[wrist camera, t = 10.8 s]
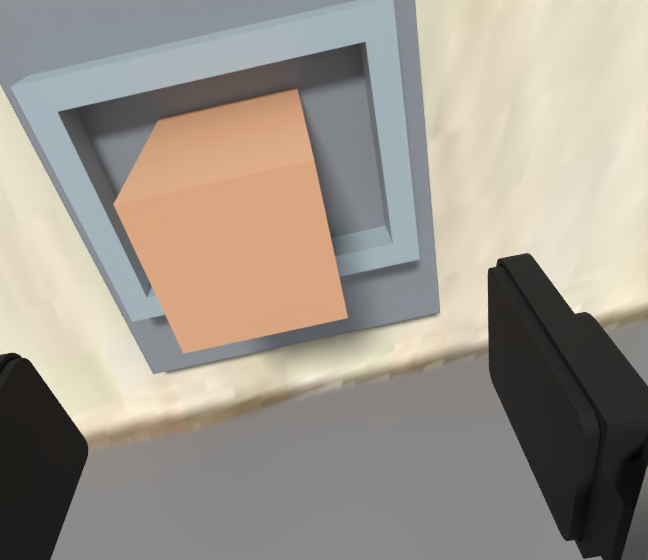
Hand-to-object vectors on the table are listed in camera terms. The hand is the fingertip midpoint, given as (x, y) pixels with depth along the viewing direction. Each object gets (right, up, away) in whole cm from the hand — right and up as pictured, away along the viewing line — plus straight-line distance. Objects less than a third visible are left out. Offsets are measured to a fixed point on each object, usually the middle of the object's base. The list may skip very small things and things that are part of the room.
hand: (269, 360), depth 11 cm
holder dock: (-2, +6, +10) cm, 12 cm away
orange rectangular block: (-2, +6, +9) cm, 11 cm away
